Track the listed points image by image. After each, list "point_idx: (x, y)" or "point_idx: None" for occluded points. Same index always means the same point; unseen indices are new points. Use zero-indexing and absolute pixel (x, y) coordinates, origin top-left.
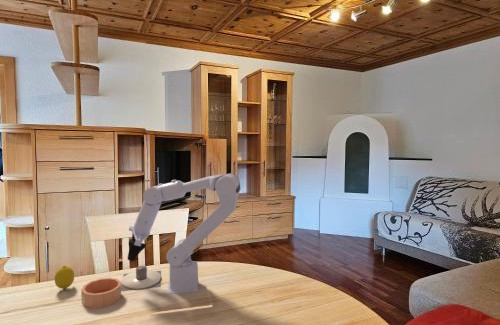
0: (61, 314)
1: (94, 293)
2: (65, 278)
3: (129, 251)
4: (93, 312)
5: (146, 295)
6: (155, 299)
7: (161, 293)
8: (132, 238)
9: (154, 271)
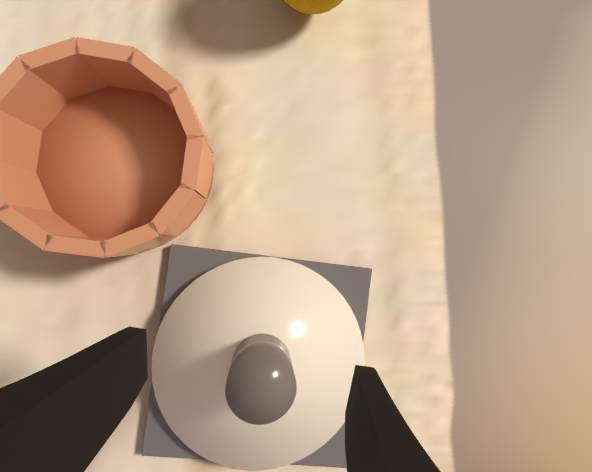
0: (51, 3)
1: (172, 128)
2: None
3: (17, 386)
4: None
5: None
6: None
7: None
8: (379, 462)
9: (324, 438)
